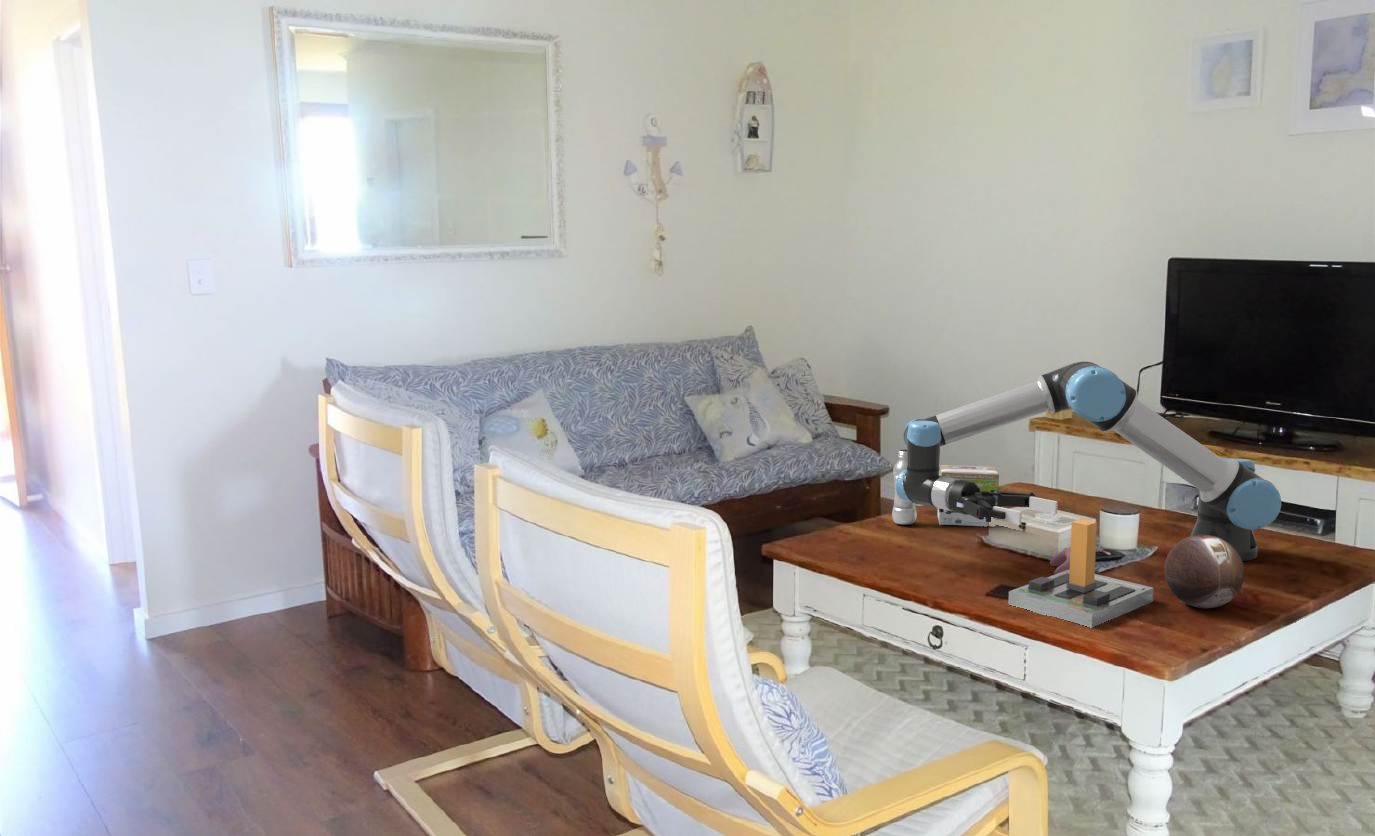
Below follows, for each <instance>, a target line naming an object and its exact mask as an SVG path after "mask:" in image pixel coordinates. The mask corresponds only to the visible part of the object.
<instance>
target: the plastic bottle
mask: <svg viewBox="0 0 1375 836" xmlns="http://www.w3.org/2000/svg"><path fill="white" fill-rule="evenodd" d="M897 457H898V460H897V461H896V462H895V464H894V466H893V468H892V474H893V480H894V485H895V484H896V481H897V480H898V478H897V477H898V475H899V474H900V473H901V472H902V471H903V470H906V469H907V448H904V449H902V448H901V449H898V455H897ZM893 500H894V501H893V507H892V513H891V517H892V521H893V522H894V523H895V524H897V525H902V526H906V525H913V524H914V523H915V522H916V520H917V516H918V515H917V508H916V507H917V506H916V504H914V503H912V502H909V501H905V500H902V499H901V498H900V497H899V496H898V495H897V493H896V489H895V488H894V499H893Z"/></svg>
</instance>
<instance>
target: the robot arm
mask: <svg viewBox="0 0 1375 836" xmlns="http://www.w3.org/2000/svg"><path fill="white" fill-rule="evenodd" d="M1062 411H1073V412H1074V413H1075V414H1076V415H1077V416H1079V418H1081V419H1084V420H1086V421H1087V422H1089V423H1090V424H1092V425H1094V427H1096V428H1098V429H1099V430H1100V431H1102V432H1105V433H1108V432H1116V433H1117V434H1118V435H1120V436H1121V437H1122V438H1124V439H1125V440H1127V441H1128V442H1130V443H1131V444H1132V445H1134V446H1135V447H1137V448H1138V449H1140V450H1141V451H1142V452H1144V453H1145V454H1146V455H1148V456H1149V457H1151V458H1152V459H1154V460H1155V461H1157V462H1158V463H1159V464H1160V465H1162V466H1163V467H1165V468H1167V469H1168V470H1170V471H1171V472H1173V473H1174V474H1175V475H1177V476H1178V477H1179V478H1181V479H1182V480H1184V481H1186V482H1187V483H1188V484H1190V485H1191V486H1192V487H1194V488H1196V489H1197V490H1198V501H1197V504H1198V505H1197V517H1196V518H1197V519H1196V521H1195V524H1194V527H1193V529H1192V530H1191V533H1190V535H1189V537H1190V536H1194V535H1211V536H1215V537H1218V538H1220V539H1222V540H1224V541H1226V542H1227V543H1229V544H1230V545H1231V546H1232V547H1233V548H1234V549H1235V550H1236V551H1237V553H1238V554H1239V556H1240V558H1241V560H1242V562H1245V561H1246V562H1247V561H1251V560H1255V559H1256V558H1257V557H1258V545H1257V541H1256V537H1255V533H1254V530H1260V529H1263V528H1265V527H1267V526H1269V525H1270V524H1271V523H1273V522H1274V520H1276V519H1277V517H1278V515H1279V514H1280V511H1281V508H1282V498H1281V494H1280V492H1279V490H1278V489H1277V488H1276V486H1275V484H1273V483H1272V482H1271V481H1269V480H1267V479H1264V478H1263V477H1261V476H1260V475H1258V474H1257V473H1256V467H1255V461H1254V460H1251V459H1245V458H1228V457H1227V458H1225V457H1224V458H1222V457H1221V456H1219V455H1218V454H1216V453H1214V452H1213V451H1212V450H1210V449H1209V448H1207V447H1206V446H1205V445H1203V444H1202V443H1200V442H1199V441H1198V440H1196V439H1195V438H1193V437H1191V435H1190V434H1187V433H1186V432H1185V431H1183V430H1181V429H1180V428H1179V427H1177V426H1176V425H1174V424H1172V422H1170V421H1169V420H1167V419H1165V418H1164V417H1163V416H1161V414H1159V413H1157V412H1156V411H1154V410H1153V409H1151V408H1150V407H1149V406H1147V405H1146V404H1144V403H1143V402H1142V401H1140V399H1139V395H1138V391H1137V390H1136V389H1135V388H1133V387H1132V386H1131V385H1129V384H1127V382H1125V381H1123V380H1122V379H1121V378H1119V376H1118V375H1117V374H1116V373H1114V372H1113V371H1111V370H1110V369H1107V368H1105V367H1102V366H1101V365H1098V364H1097V363H1094V362H1092V361H1077V362H1073V363H1070V364H1068V365H1065V366H1062V367H1060V368H1057V369H1054V370H1051V371H1050V372H1047V373H1043V374H1041V375H1039V376H1038V378H1037V380H1036V381H1034V382H1031V383H1028V384H1025V385H1022V386H1018V387H1015V388H1013V389H1010V390H1007V391H1005V392H1004V391H1003V392H1002V393H998V394H995V395H992V396H989V397H986V398H984V399H981V400H977V401H974V402H971V403H968V404H965V405H963V406H959V407H956V408H953V409H951V410H947V411H944V412H941V413H938V414H936V415H933V416H929V417H927V418H924V419H923V418H915V419H913V420H911V421H909V422H908V423H907V424H906V426H905V428H904V429H903V430H904V431H903V441H904V444H905V445H906V449H907V469H906V470H903V471H902V472H901V473H900V474H899V475H898V477H897V478H898V480H897V481H896V484H895V483H894V490H895V489H896V493H897V495H898V496H899V497H900V498H901V499H902V500H905V501H909V502H912V503H914V504H915V505H922V506H925V507H931V508H935V509H938V508H939V509H944V512H948V511H953V512H956V513H961V514H965V515H971V516H973V517H975V518H977V519H980V520H982V519H984V517H985V518H986V522H991V517H993V519H995V520H997V521H1001V522H1005V523H1009V524H1014V525H1018V526H1019V525H1022V514H1023V511H1020V510H1014V509H1011V508H1029V509H1028V510H1033V511H1038V512H1043V513H1046V514H1053V515H1057V514H1058V506H1059V505H1058V504H1059V503H1058V501H1056V500H1052V499H1048V498H1047V499H1046V498H1041V497H1037V496H1036V494H1035V493H1034V492H1032V491H1031V492H1030V491H1029V493H1023V492H1015V491H1004V490H998V491H996V490H991V491H990V492H989V491H981V492H980V490H979V488H978V486H977V485H976V484H975V483H974V482H970V481H965V480H959V479H955V478H950V477H944V476H940V475H939V469H940V463H941V462H940V459H941V457H940V456H941V447H942V446H946V445H948V444H951V443H954V442H957V441H960V440H964V439H966V438H970V437H973V436H976V435H978V434H982V433H984V432H988V431H990V430H994V429H997V428H999V427H1000V428H1001V427H1003V426H1005V425H1010V424H1012V423H1015V422H1020V421H1021V420H1025V419H1028V418H1031V417H1033V416H1037V415H1041V414H1042V413H1047V412H1049V413H1050V414H1056V413H1060V412H1062ZM996 502H997V505H995V504H996ZM1006 507H1008V508H1006ZM1009 507H1011V508H1009ZM992 508H993V509H992Z"/></svg>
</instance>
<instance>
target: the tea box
mask: <svg viewBox="0 0 1375 836" xmlns="http://www.w3.org/2000/svg"><path fill="white" fill-rule="evenodd" d="M939 467H940V469H939V475H940V476H944V477H950V478H955V479H959V480H965V481H970V482H974V483H975V484H976V485H977V486H978V488H979V490H980V492H981V491H989V492H990V491H991V490H996V491H999V483H1000V482H999V481H1000V474H999V472H998V470H997V468H996V466H986V465H985V466H983V465H978V466H977V465H958V464H957V465H956V464H955V465H953V464H952V465H950V464H939ZM995 505H997V502H996V504H995ZM992 509H993V508H992ZM937 518H938V519H937V520H938V524H939V526H944V525H945V526H969V527H971V526H972V527H983V526H984V528H985V527H986V528H987V526H988V522H986V518H985V517H984V519H982V520H980V519H977V518H975V517H973V516H971V515H965V514H961V513H956V512H953V511H948V512H944V509H939V508H937Z"/></svg>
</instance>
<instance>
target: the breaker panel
mask: <svg viewBox="0 0 1375 836" xmlns="http://www.w3.org/2000/svg"><path fill="white" fill-rule="evenodd" d="M1069 575H1070V569H1069V570H1066V571H1063V572H1061V573H1058V574H1055V575H1054V574H1053V575H1050V576H1047V577H1046V576H1040V577H1037V578H1034V579H1032V580H1029V581H1028V584H1025V585H1023V586H1020V587H1017V588H1014V589H1011V590H1009V591H1008V601H1007V603H1008V604H1009V605H1012V606H1011V607H1013V606H1016V607H1015V608H1017V607H1020V608H1024V609H1027V610H1030V611H1029V612H1031V611H1033V612H1032V613H1035V612H1036V613H1035V614H1039V615H1043V616H1045V617H1049V616H1053V617H1057V618H1060V619H1064V620H1067V621H1071V622H1074V623H1078V624H1080V625H1079V626H1082V625H1084V626H1083V627H1085V626H1087V627H1086V628H1089V627H1090V628H1089V629H1093V628H1096V627H1098V626H1100V625H1102V624H1105V623H1107V622H1109V621H1111V619H1112V620H1113V618H1114V619H1116V618H1118V617H1121V616H1123V615H1126V614H1127V613H1130V612H1132V611H1135V610H1137V609H1139V608H1141V607H1144V606H1146V605H1149V604H1150V603H1153V602H1154V589H1155V588H1154V587H1152V586H1147V585H1144V584H1139V583H1135V582H1131V581H1126V580H1124V579H1123V580H1122V579H1118V578H1115V577H1114V578H1113V577H1109V576H1105V575H1101V574H1098V573H1095V576H1094V582H1097V585H1096V588H1095V589H1092V590H1090V591H1087V592H1085V593H1083V592H1079V591H1075V590H1071V589H1067V583H1068V582H1069ZM1009 605H1008V606H1009ZM1020 608H1019V609H1020ZM1024 609H1023V610H1024ZM1027 610H1026V611H1027ZM1046 615H1047V616H1046ZM1053 617H1052V618H1053ZM1060 619H1059V620H1060ZM1064 620H1063V621H1064ZM1108 620H1109V621H1108ZM1067 621H1066V622H1067ZM1106 621H1107V622H1106ZM1071 622H1070V623H1071ZM1104 622H1105V623H1104ZM1074 623H1073V624H1074ZM1101 623H1102V624H1101ZM1078 624H1077V625H1078ZM1099 624H1100V625H1099ZM1097 625H1098V626H1097ZM1095 626H1096V627H1095Z"/></svg>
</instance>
